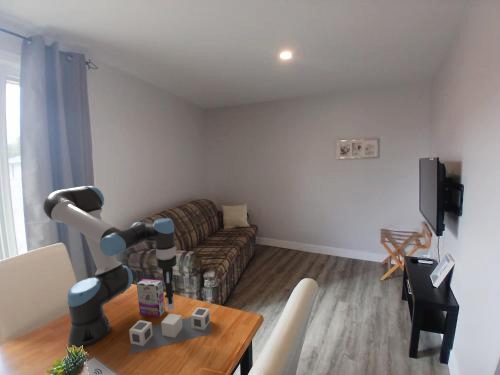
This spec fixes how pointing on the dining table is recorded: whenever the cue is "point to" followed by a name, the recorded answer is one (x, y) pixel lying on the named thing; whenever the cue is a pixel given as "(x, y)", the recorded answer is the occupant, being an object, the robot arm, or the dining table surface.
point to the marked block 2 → (200, 318)
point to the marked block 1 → (141, 332)
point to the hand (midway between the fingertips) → (170, 308)
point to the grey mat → (162, 340)
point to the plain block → (171, 325)
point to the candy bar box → (151, 297)
